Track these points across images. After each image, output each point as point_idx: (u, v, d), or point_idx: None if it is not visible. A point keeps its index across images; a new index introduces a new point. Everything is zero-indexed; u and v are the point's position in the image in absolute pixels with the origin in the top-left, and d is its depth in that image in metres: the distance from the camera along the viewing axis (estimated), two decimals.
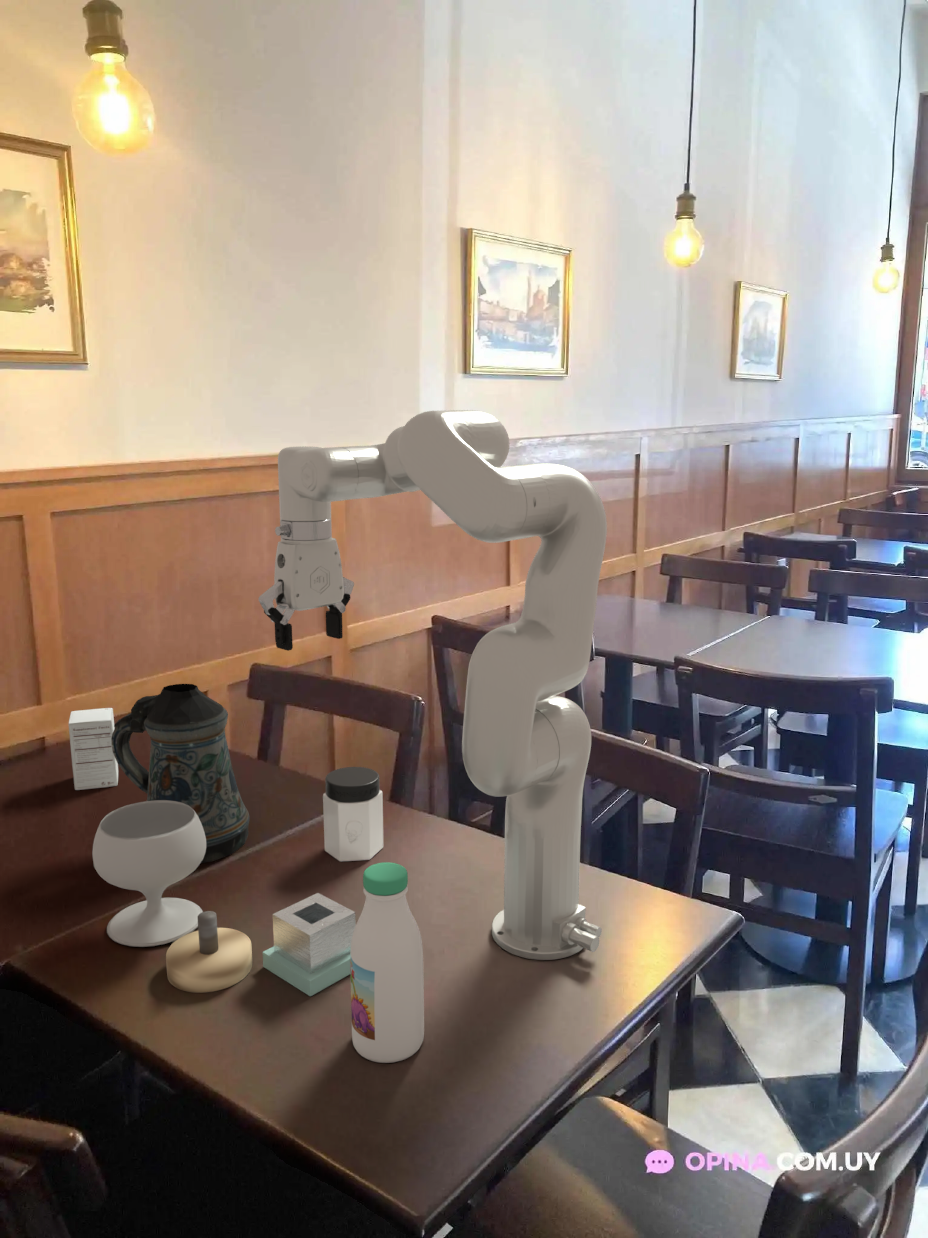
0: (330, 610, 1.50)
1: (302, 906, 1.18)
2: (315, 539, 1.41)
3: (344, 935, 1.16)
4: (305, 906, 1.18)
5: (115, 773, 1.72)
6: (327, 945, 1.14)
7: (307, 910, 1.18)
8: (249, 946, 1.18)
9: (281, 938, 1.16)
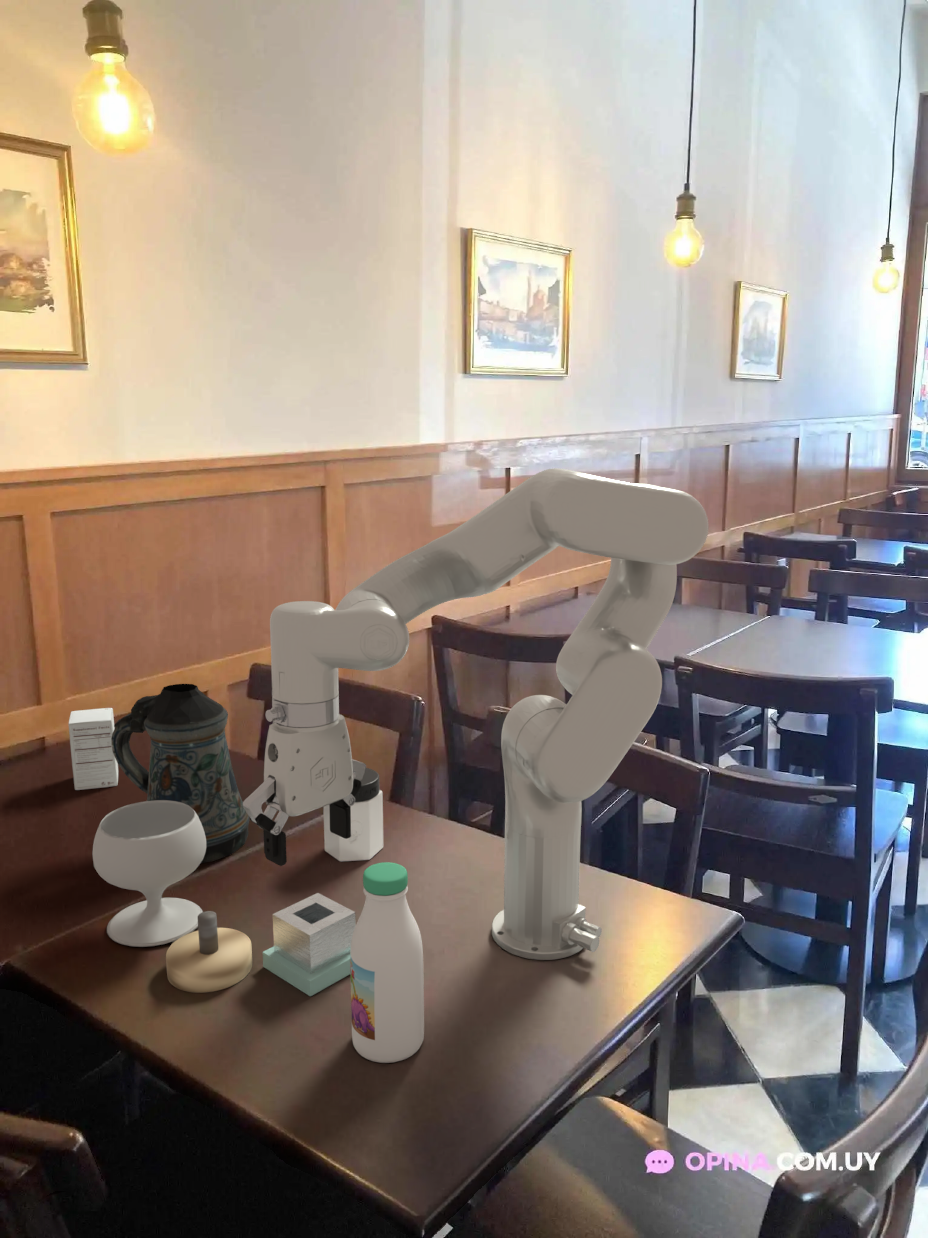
0: (335, 801, 1.18)
1: (302, 906, 1.18)
2: (318, 725, 1.08)
3: (344, 935, 1.16)
4: (305, 906, 1.18)
5: (115, 773, 1.72)
6: (327, 945, 1.14)
7: (307, 910, 1.18)
8: (249, 946, 1.18)
9: (281, 938, 1.16)
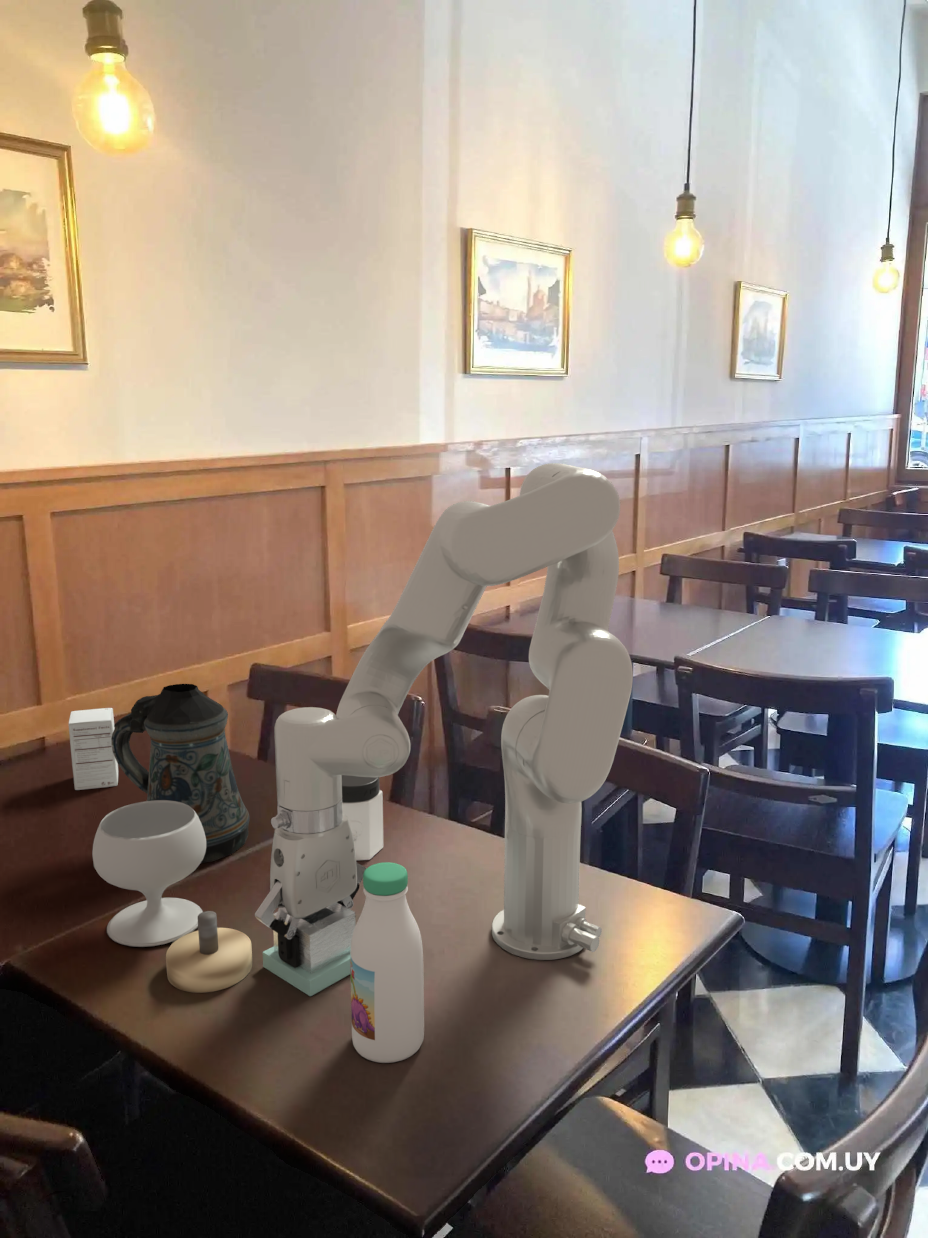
0: None
1: None
2: (322, 831, 1.11)
3: (344, 935, 1.16)
4: None
5: (115, 773, 1.72)
6: (327, 945, 1.14)
7: None
8: (249, 946, 1.18)
9: None
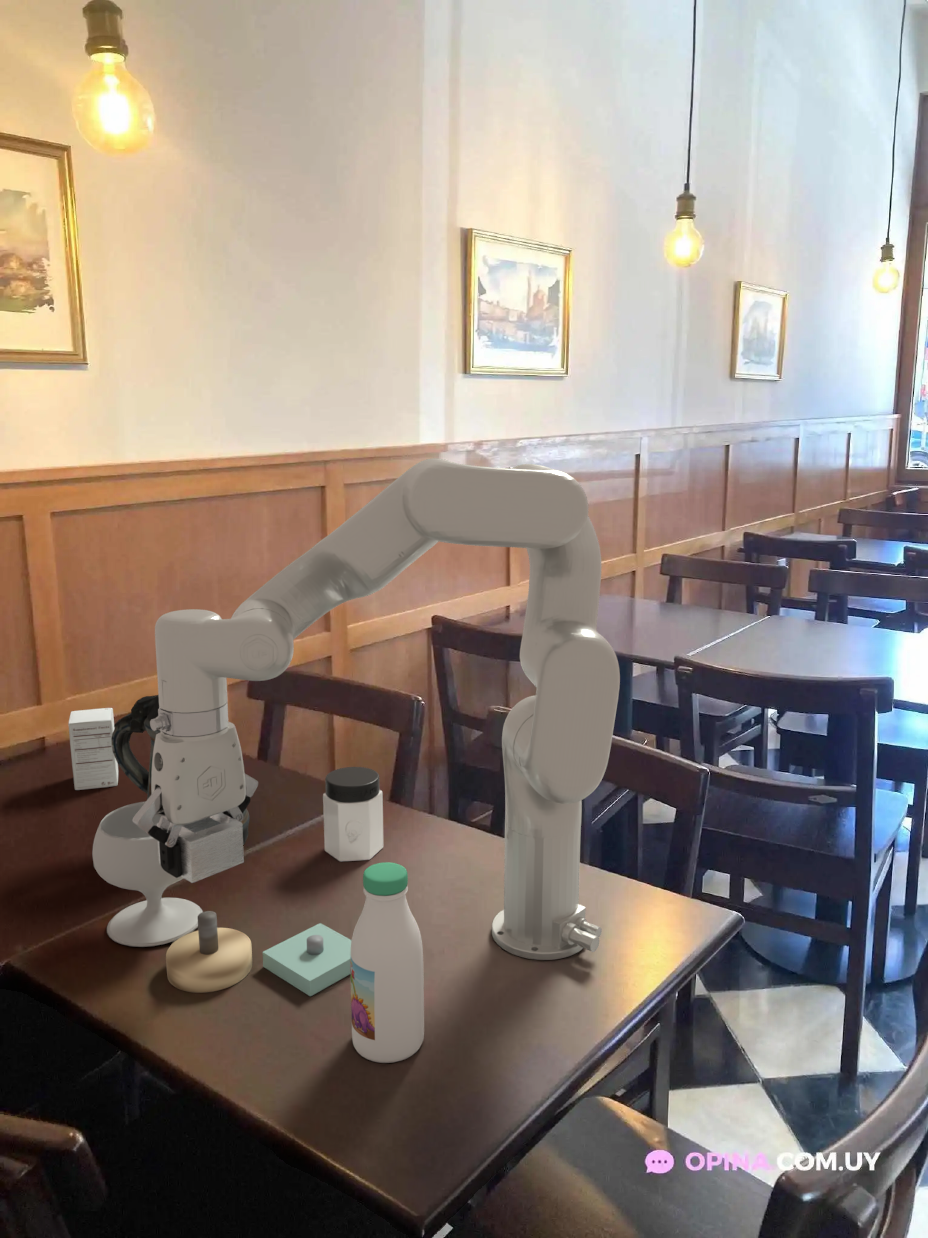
0: None
1: None
2: (203, 734, 1.08)
3: (230, 846, 1.13)
4: None
5: (115, 773, 1.72)
6: (210, 854, 1.11)
7: (194, 822, 1.15)
8: (249, 946, 1.18)
9: None
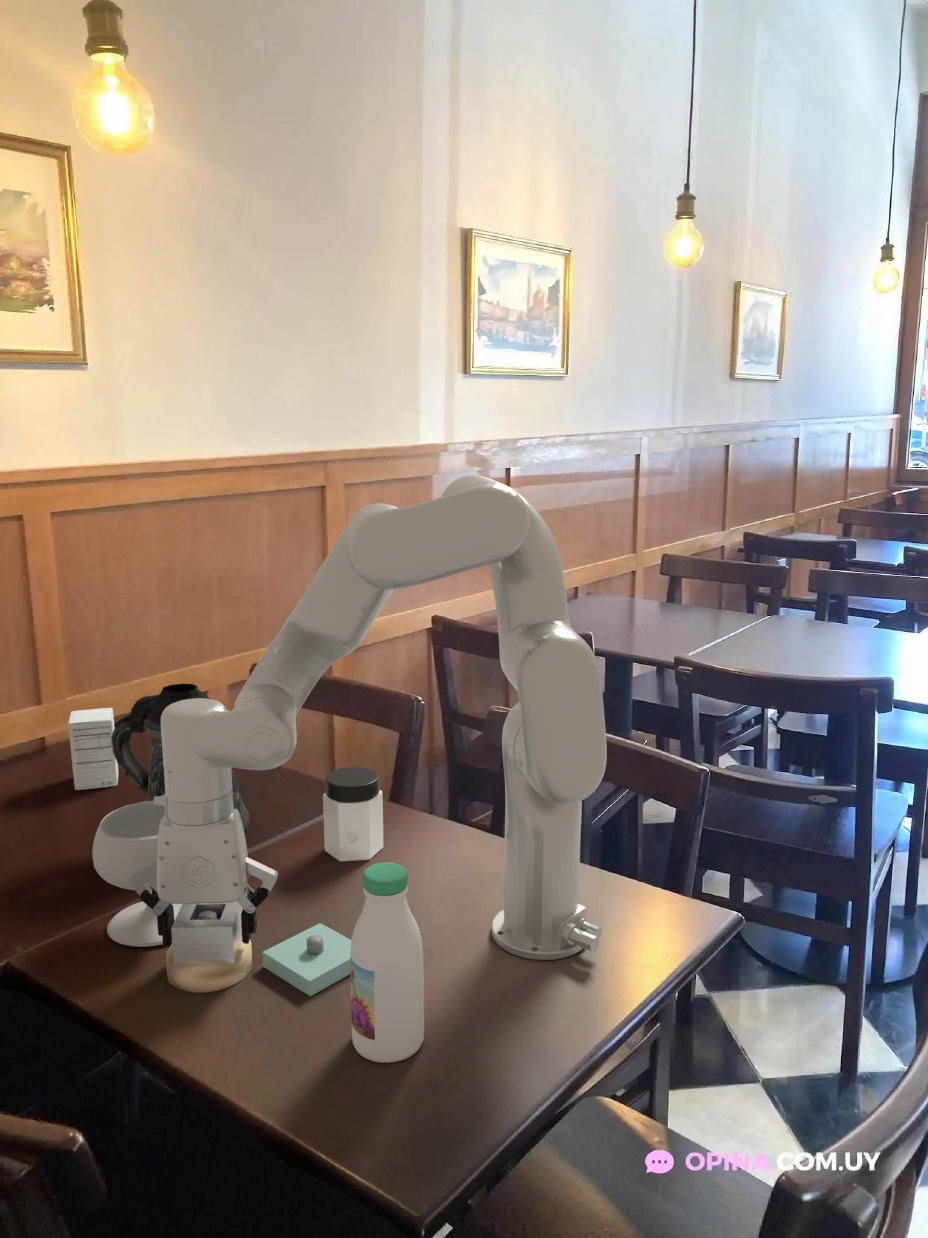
0: None
1: None
2: (183, 824, 1.10)
3: (218, 945, 1.13)
4: (214, 903, 1.18)
5: (115, 773, 1.72)
6: (194, 946, 1.13)
7: (215, 907, 1.18)
8: (249, 946, 1.18)
9: None
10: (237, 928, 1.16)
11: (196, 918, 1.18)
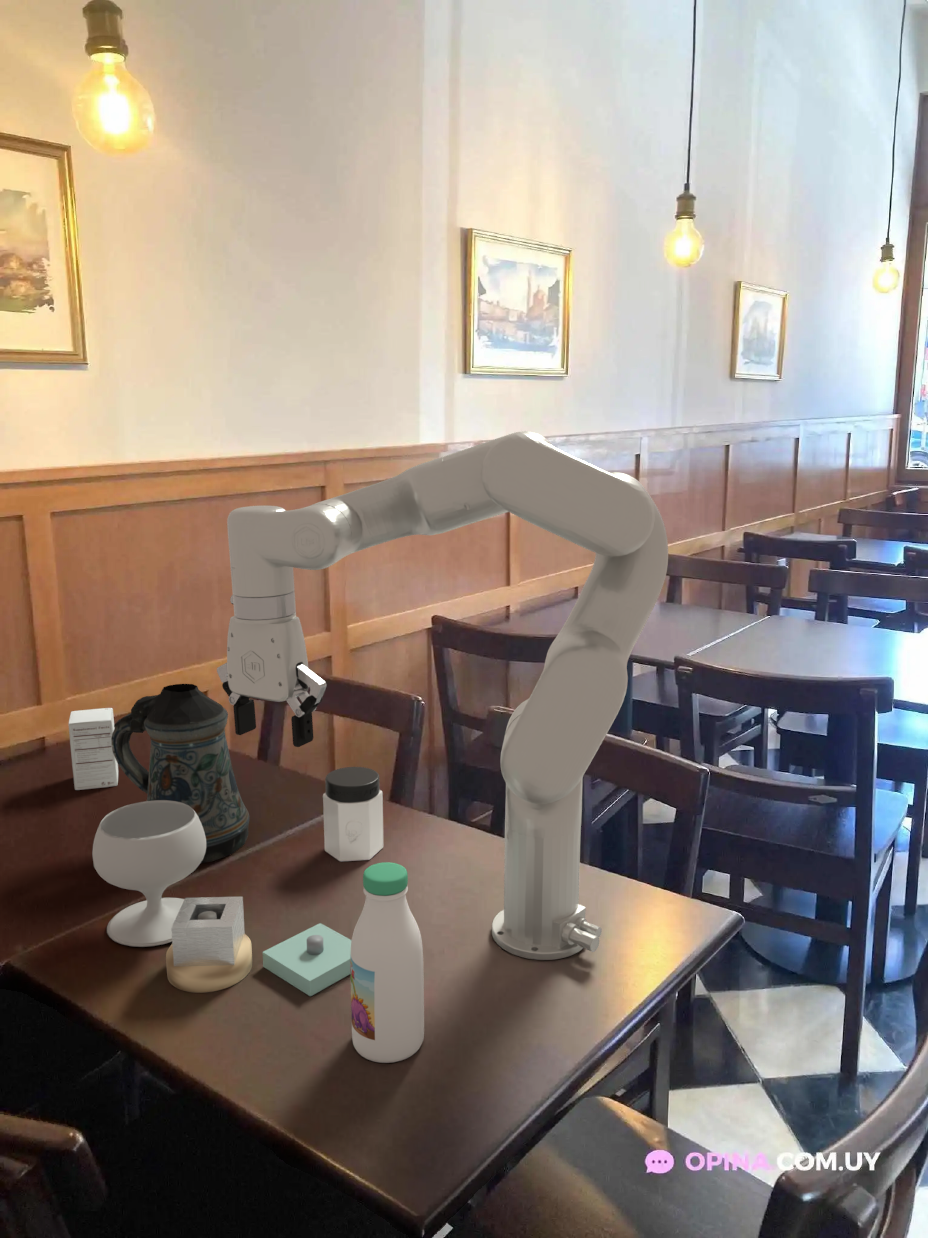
0: None
1: (211, 902, 1.18)
2: (237, 617, 1.18)
3: (218, 945, 1.13)
4: (214, 903, 1.18)
5: (115, 773, 1.72)
6: (194, 946, 1.13)
7: (215, 907, 1.18)
8: (249, 946, 1.18)
9: None
10: (237, 928, 1.16)
11: (196, 918, 1.18)
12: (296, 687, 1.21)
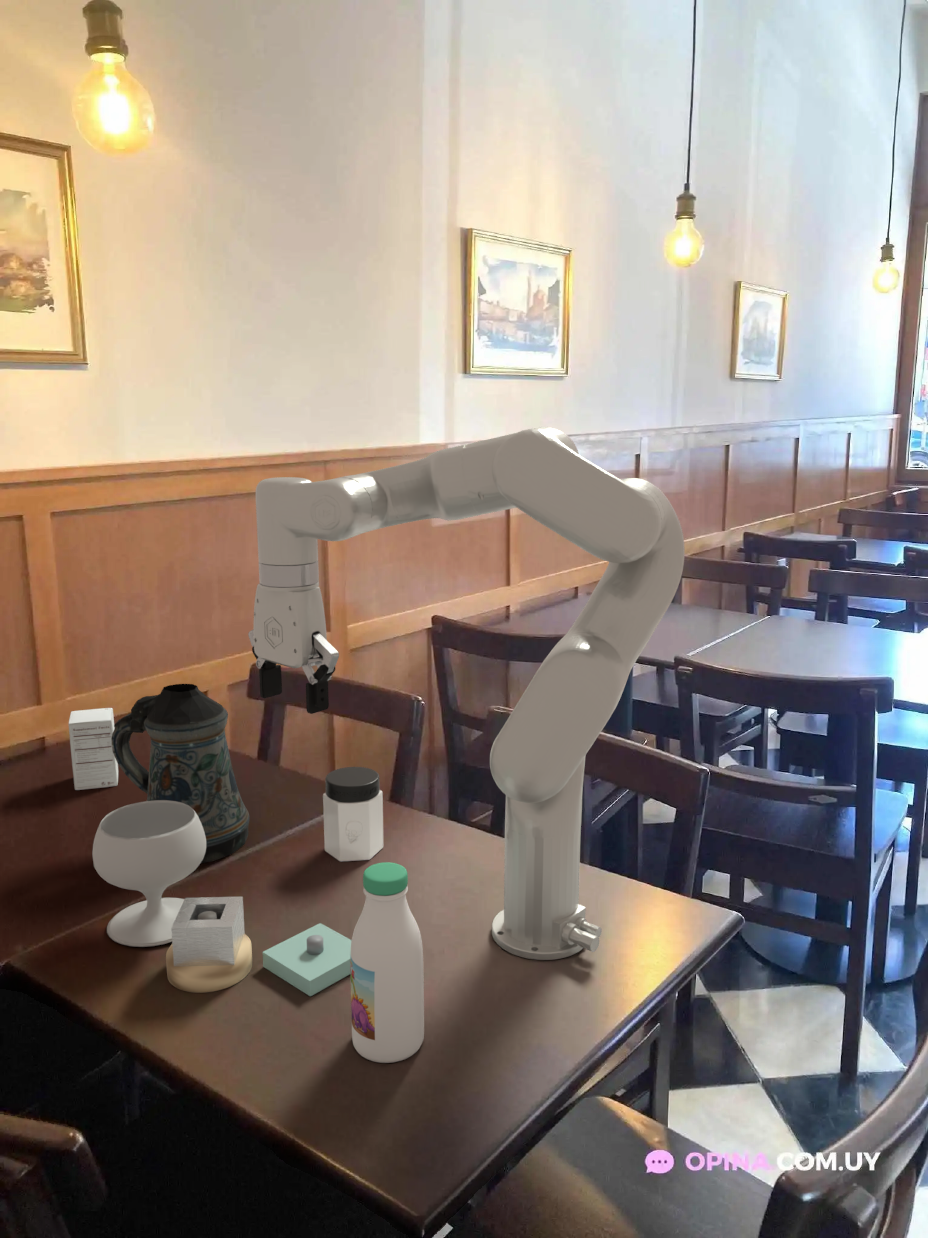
0: None
1: (211, 902, 1.18)
2: (260, 583, 1.22)
3: (218, 945, 1.13)
4: (214, 903, 1.18)
5: (115, 773, 1.72)
6: (194, 946, 1.13)
7: (215, 907, 1.18)
8: (249, 946, 1.18)
9: None
10: (237, 928, 1.16)
11: (196, 918, 1.18)
12: (314, 656, 1.25)
